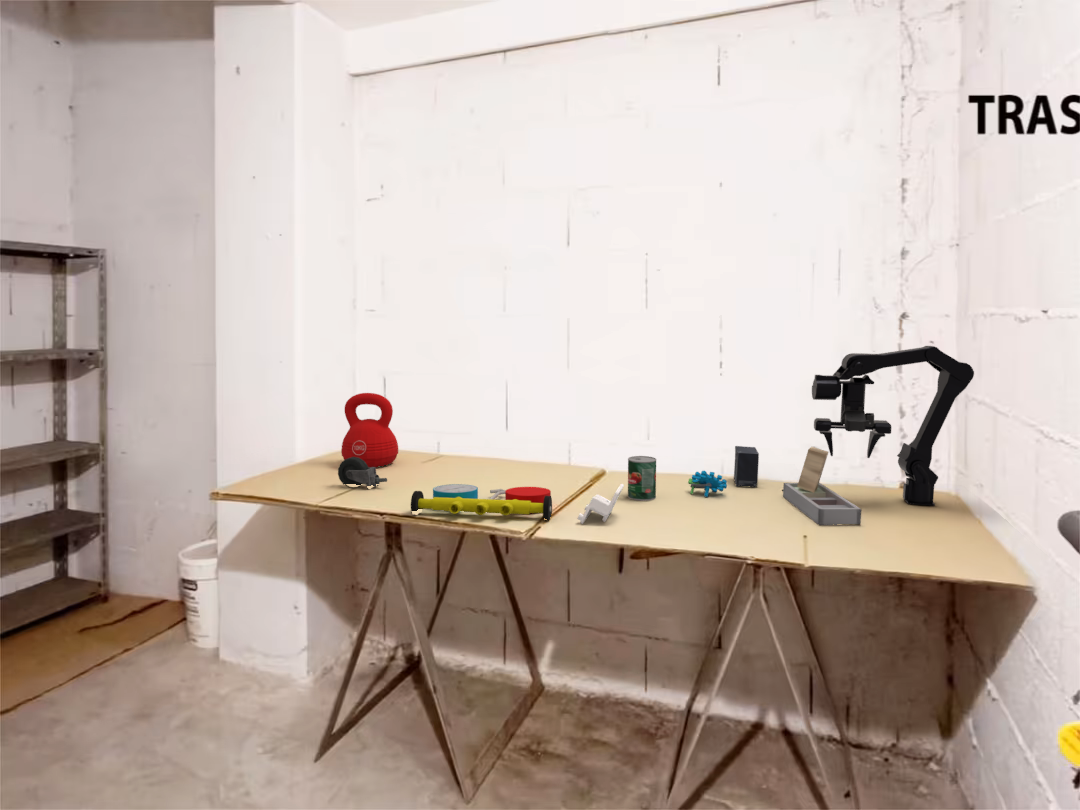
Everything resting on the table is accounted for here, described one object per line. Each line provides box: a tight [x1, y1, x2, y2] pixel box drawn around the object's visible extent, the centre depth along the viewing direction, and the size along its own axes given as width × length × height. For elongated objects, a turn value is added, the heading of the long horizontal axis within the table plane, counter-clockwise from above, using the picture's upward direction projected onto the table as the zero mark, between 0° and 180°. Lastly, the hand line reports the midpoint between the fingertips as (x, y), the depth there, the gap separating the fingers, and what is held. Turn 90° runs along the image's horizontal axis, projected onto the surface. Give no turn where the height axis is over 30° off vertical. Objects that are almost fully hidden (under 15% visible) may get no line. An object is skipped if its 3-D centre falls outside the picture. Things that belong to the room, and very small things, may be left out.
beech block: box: [797, 446, 829, 493], centre depth 187 cm, size 4×4×11 cm
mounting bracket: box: [576, 483, 625, 525], centre depth 173 cm, size 12×6×11 cm, turn 164°
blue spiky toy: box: [687, 470, 728, 498], centre depth 195 cm, size 11×6×10 cm
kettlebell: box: [341, 392, 399, 468], centre depth 236 cm, size 19×19×25 cm
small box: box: [733, 445, 760, 488], centre depth 208 cm, size 11×6×10 cm, turn 168°
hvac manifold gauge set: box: [410, 483, 553, 520], centre depth 184 cm, size 36×6×25 cm
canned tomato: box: [627, 455, 657, 502], centre depth 193 cm, size 8×8×11 cm
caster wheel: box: [337, 457, 388, 487], centre depth 206 cm, size 6×10×15 cm
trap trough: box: [782, 482, 862, 526], centre depth 180 cm, size 26×10×4 cm, turn 179°
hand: (849, 456), depth 188 cm, fingers open, 9 cm apart
